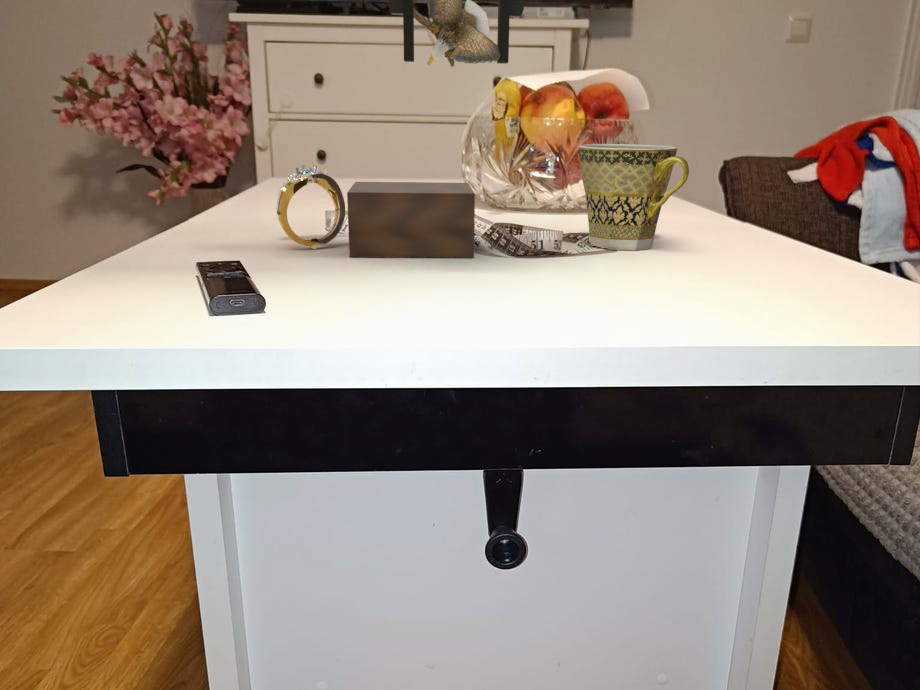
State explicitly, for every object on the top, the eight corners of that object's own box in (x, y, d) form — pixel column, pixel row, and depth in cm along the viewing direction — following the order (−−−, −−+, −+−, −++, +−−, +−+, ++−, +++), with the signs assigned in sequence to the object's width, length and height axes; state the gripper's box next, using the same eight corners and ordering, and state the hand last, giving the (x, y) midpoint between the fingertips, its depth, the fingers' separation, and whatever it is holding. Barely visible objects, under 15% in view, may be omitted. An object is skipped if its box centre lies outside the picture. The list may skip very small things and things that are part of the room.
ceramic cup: (554, 243, 100) (558, 144, 96) (617, 236, 105) (624, 143, 102) (647, 260, 90) (655, 151, 87) (710, 251, 96) (721, 149, 93)
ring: (340, 244, 97) (336, 163, 94) (351, 248, 94) (348, 165, 91) (275, 248, 94) (269, 164, 91) (285, 252, 91) (279, 166, 88)
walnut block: (349, 257, 89) (347, 192, 87) (357, 239, 100) (355, 181, 98) (474, 257, 90) (474, 193, 88) (468, 240, 101) (468, 182, 99)
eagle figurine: (384, 49, 77) (405, 19, 69) (427, -27, 77) (453, -67, 68) (460, 104, 80) (490, 81, 71) (502, 30, 79) (536, -1, 71)
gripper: (311, -318, 62) (327, 57, 71) (604, -308, 63) (584, 62, 72) (324, -277, 69) (337, 61, 78) (587, -267, 70) (571, 65, 79)
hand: (455, 61), depth 75 cm, fingers closed on eagle figurine, 7 cm apart
